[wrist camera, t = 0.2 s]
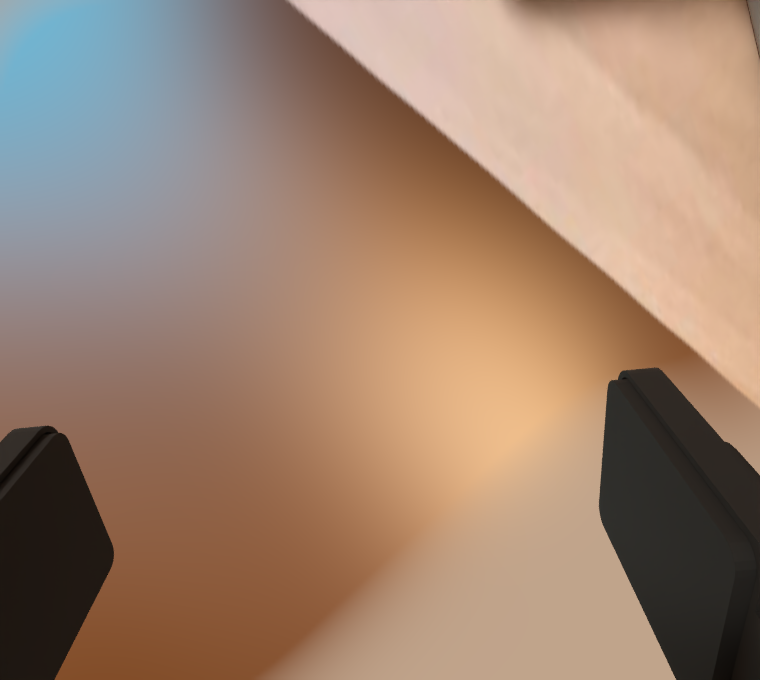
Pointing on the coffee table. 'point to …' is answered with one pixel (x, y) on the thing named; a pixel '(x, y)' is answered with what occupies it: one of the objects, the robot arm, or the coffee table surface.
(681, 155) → the coffee table surface
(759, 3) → the newton's cradle
